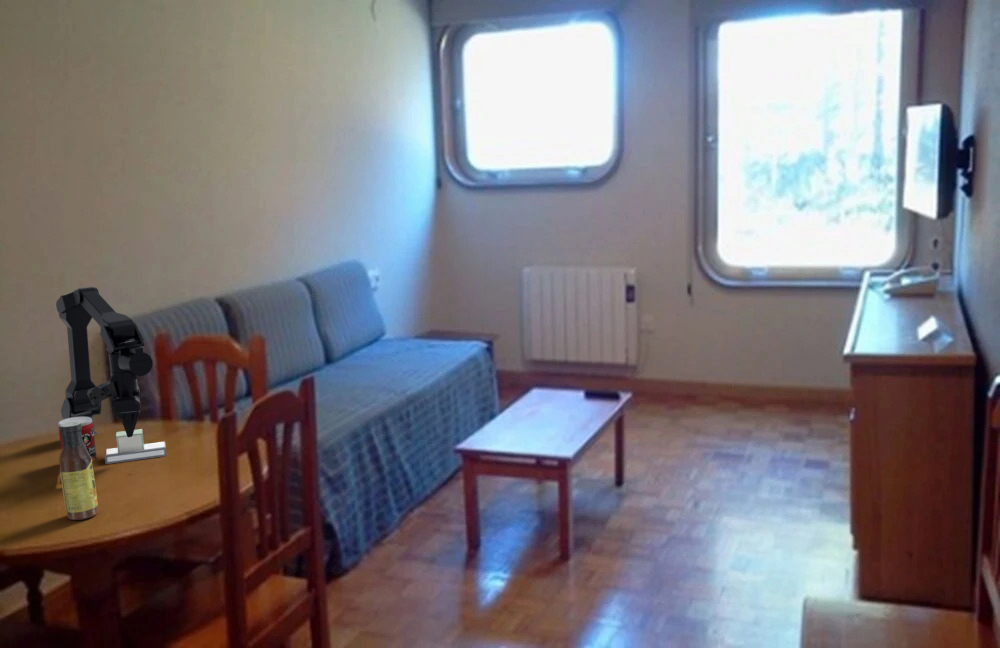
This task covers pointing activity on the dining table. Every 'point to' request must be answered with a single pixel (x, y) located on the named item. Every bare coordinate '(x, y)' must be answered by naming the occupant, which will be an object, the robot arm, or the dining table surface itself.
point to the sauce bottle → (77, 474)
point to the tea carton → (130, 441)
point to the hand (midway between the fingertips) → (129, 432)
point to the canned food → (83, 433)
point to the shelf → (136, 453)
